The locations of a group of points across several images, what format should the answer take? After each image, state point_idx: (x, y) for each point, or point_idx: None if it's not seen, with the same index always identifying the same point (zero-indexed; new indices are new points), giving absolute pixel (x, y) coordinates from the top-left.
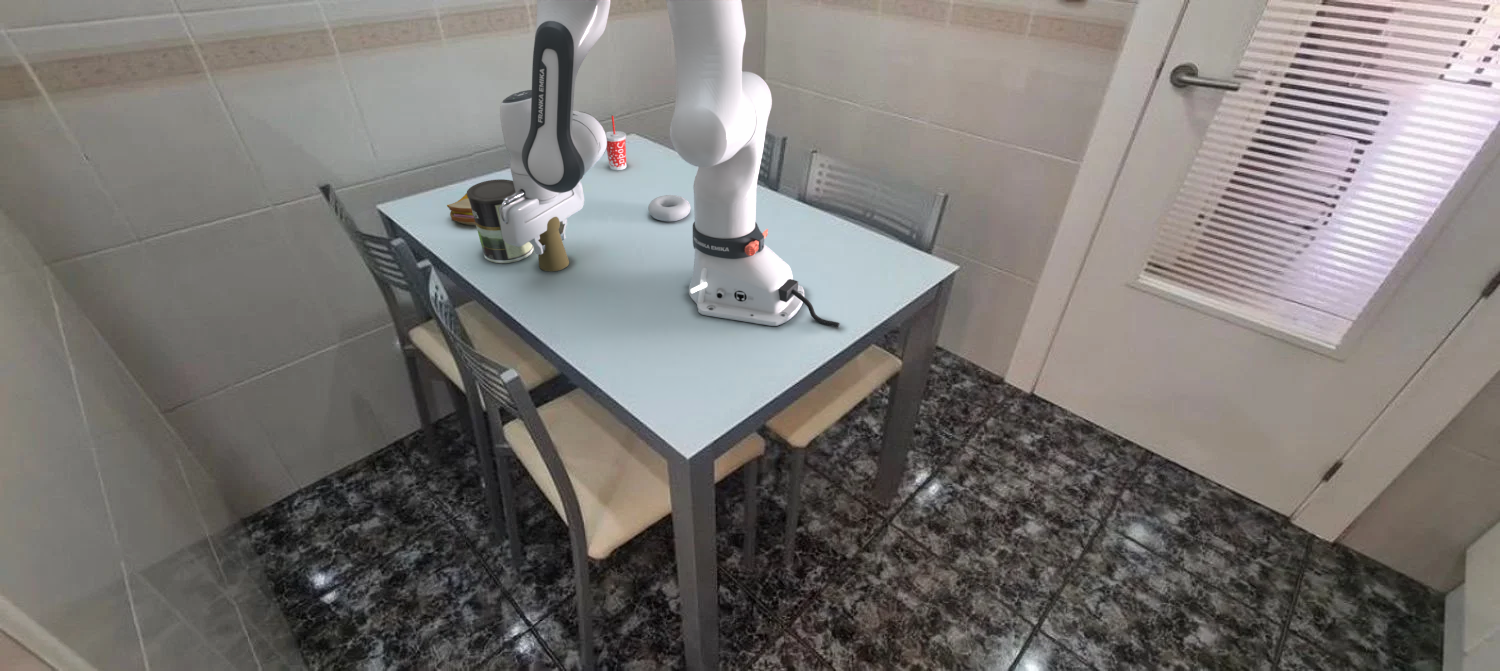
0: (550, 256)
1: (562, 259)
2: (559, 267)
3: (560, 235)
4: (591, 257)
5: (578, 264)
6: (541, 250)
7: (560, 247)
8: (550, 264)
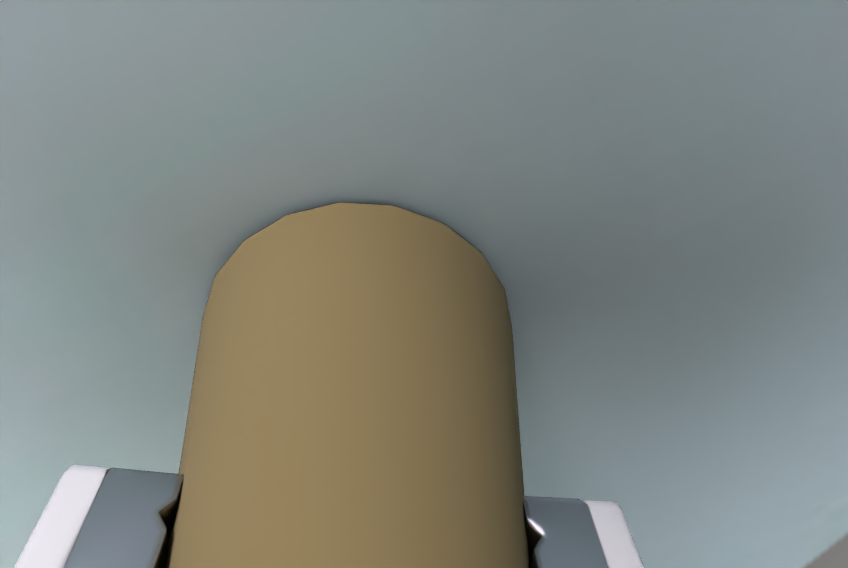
0: (505, 405)
1: (394, 276)
2: (456, 249)
3: (153, 561)
4: (2, 32)
5: (246, 106)
6: (630, 546)
7: (363, 399)
8: (507, 343)
